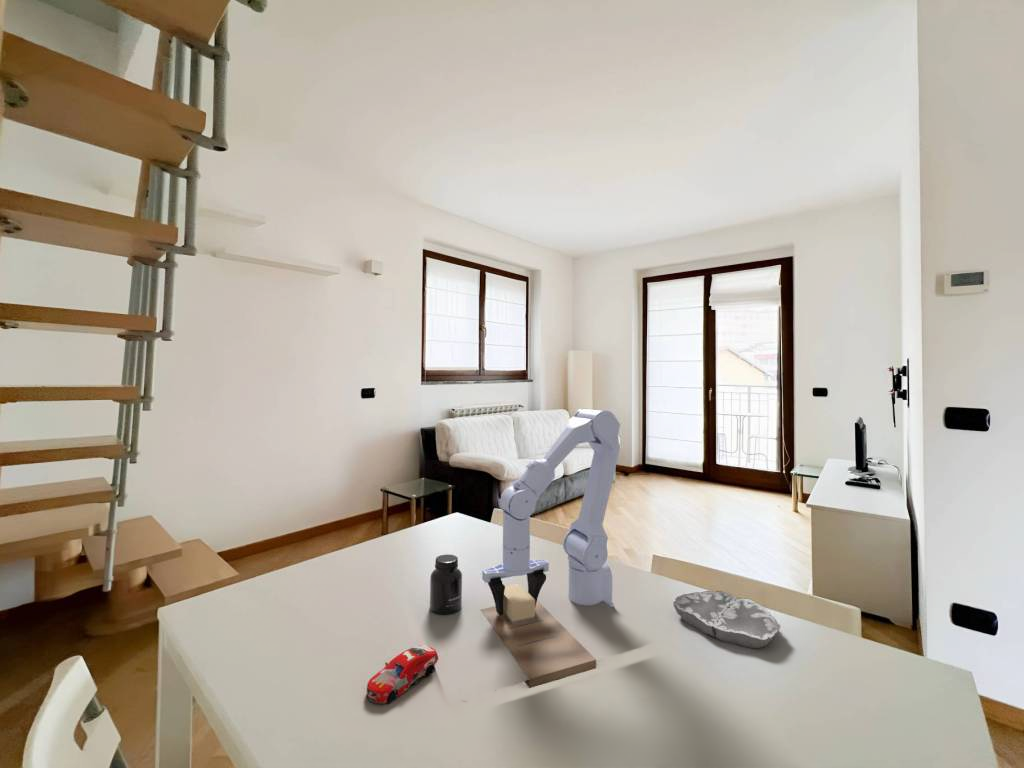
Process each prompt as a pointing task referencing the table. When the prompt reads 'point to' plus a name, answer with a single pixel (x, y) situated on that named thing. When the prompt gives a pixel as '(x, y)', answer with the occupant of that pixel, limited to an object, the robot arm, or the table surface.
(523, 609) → the block
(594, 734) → the table surface
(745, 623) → the brain slice
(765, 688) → the table surface
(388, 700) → the race car
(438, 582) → the supplement bottle
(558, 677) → the board
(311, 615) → the table surface
